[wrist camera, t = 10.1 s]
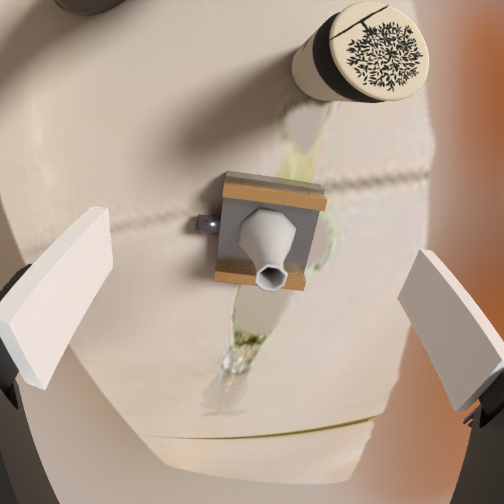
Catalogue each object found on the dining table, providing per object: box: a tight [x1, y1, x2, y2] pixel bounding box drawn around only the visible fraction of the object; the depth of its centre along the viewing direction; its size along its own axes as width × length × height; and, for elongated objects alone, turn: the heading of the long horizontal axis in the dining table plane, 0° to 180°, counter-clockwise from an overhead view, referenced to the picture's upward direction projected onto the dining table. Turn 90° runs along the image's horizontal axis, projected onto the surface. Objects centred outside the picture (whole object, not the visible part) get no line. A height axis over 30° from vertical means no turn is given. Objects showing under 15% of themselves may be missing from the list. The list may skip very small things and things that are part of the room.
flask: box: [238, 208, 296, 292], centre depth 34 cm, size 7×7×10 cm
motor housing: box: [196, 171, 327, 291], centre depth 38 cm, size 14×15×4 cm
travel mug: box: [291, 1, 429, 103], centre depth 22 cm, size 8×8×18 cm
